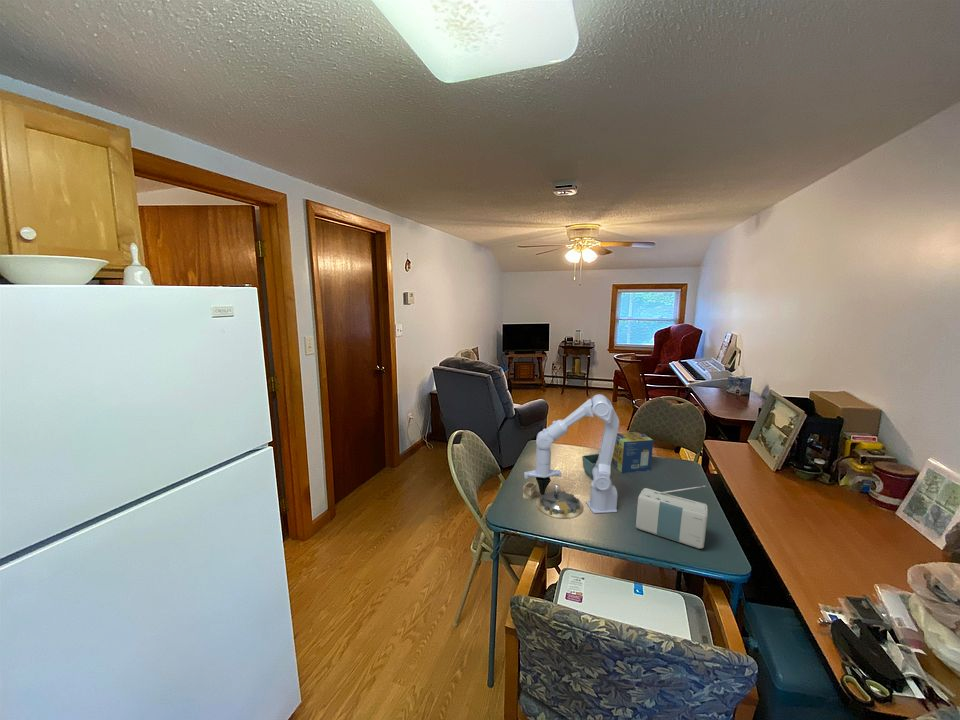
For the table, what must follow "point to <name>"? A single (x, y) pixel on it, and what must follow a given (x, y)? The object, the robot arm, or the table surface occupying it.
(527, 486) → the link block
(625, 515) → the table surface
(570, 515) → the sprocket base
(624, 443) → the protein box
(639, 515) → the stereo radio cassette player
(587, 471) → the flower pot
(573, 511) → the sprocket
